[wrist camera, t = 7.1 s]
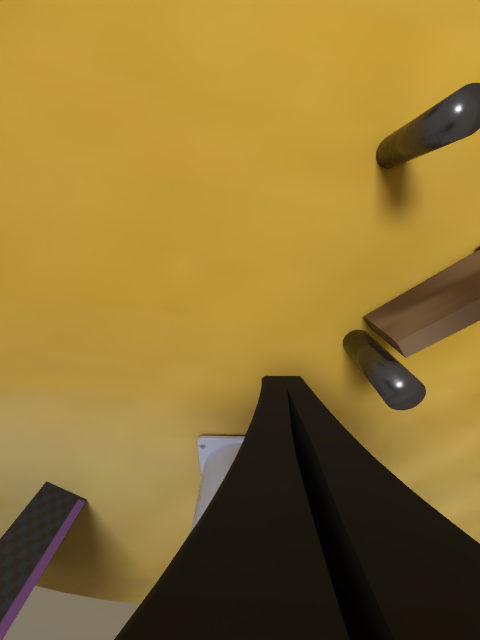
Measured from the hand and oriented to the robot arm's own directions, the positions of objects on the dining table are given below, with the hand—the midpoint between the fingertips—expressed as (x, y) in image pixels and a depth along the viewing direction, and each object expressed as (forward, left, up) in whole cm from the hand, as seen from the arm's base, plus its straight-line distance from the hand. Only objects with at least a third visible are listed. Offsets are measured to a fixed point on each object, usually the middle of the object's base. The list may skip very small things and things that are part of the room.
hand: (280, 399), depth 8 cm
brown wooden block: (+2, -11, -9) cm, 14 cm away
